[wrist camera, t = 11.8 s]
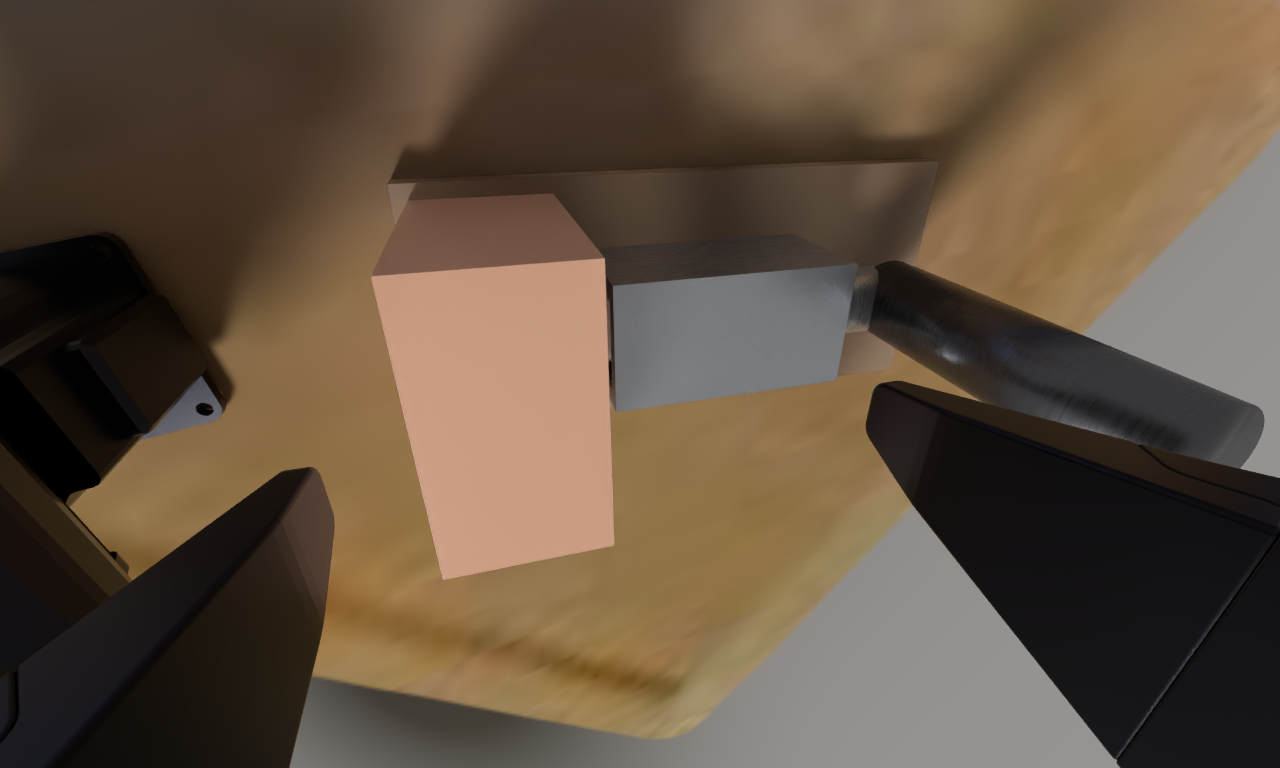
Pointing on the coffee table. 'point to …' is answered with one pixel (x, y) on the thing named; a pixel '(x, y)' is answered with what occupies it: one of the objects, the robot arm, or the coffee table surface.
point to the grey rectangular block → (723, 317)
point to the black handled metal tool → (1044, 366)
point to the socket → (501, 376)
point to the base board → (734, 211)
